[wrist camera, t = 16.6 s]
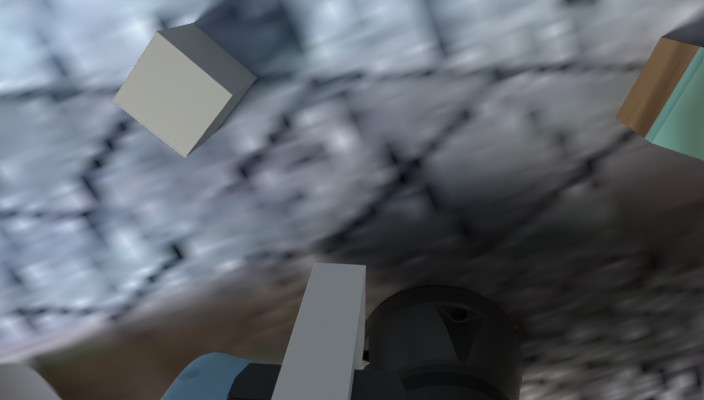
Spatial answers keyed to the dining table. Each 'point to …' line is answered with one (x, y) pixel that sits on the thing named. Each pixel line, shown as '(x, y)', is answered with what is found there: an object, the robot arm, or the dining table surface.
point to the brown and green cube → (669, 99)
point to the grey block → (184, 87)
